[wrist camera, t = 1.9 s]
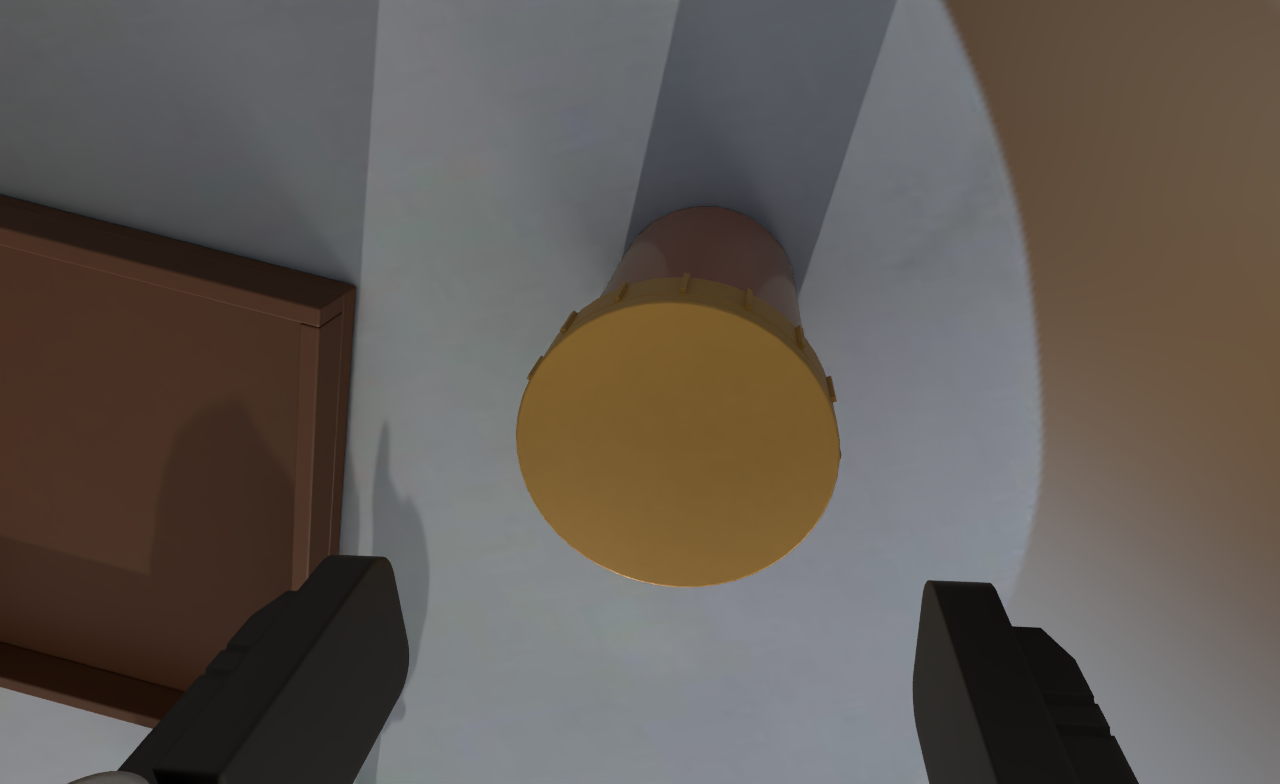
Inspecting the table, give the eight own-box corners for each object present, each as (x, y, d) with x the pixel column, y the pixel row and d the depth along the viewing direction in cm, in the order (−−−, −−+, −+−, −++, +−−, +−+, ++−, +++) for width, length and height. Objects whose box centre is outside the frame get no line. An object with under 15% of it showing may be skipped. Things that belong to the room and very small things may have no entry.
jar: (637, 185, 22) (565, 279, 14) (819, 231, 22) (857, 353, 14) (601, 353, 24) (521, 520, 16) (766, 396, 24) (771, 586, 16)
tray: (-110, 166, 25) (-188, 178, 23) (356, 285, 25) (320, 308, 23) (-23, 627, 33) (-75, 667, 31) (328, 722, 33) (299, 769, 31)
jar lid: (561, 239, 15) (541, 260, 13) (878, 319, 15) (891, 348, 13) (514, 504, 17) (493, 545, 16) (783, 574, 17) (785, 622, 16)
